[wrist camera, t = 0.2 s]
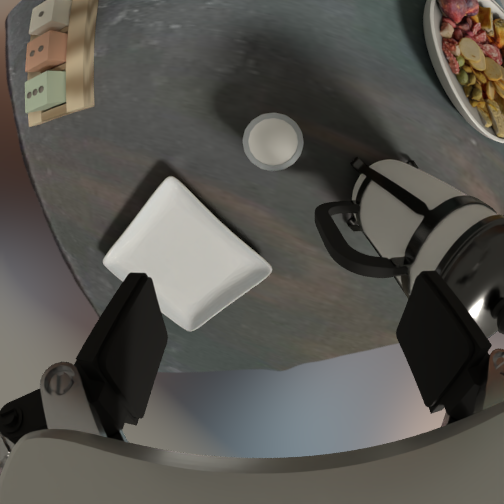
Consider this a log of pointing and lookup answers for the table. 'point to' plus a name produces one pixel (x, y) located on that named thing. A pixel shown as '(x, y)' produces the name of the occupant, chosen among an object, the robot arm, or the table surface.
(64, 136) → the table surface
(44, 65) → the tan dice block
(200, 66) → the table surface
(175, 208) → the salad plate
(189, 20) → the table surface
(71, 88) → the wooden dice block tray
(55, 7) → the white dice block
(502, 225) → the coffee press
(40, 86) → the green dice block
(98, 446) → the robot arm
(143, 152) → the table surface
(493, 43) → the bowl
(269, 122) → the shot glass
